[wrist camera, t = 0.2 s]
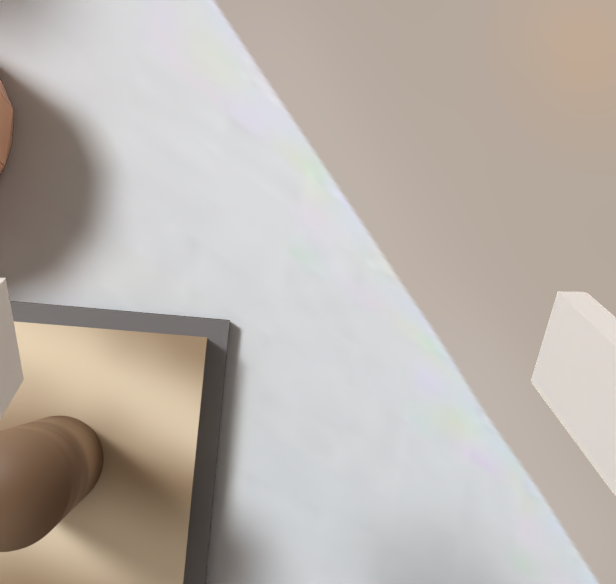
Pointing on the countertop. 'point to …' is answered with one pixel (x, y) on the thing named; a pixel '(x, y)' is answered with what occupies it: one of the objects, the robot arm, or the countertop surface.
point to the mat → (209, 402)
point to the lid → (99, 456)
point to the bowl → (5, 126)
